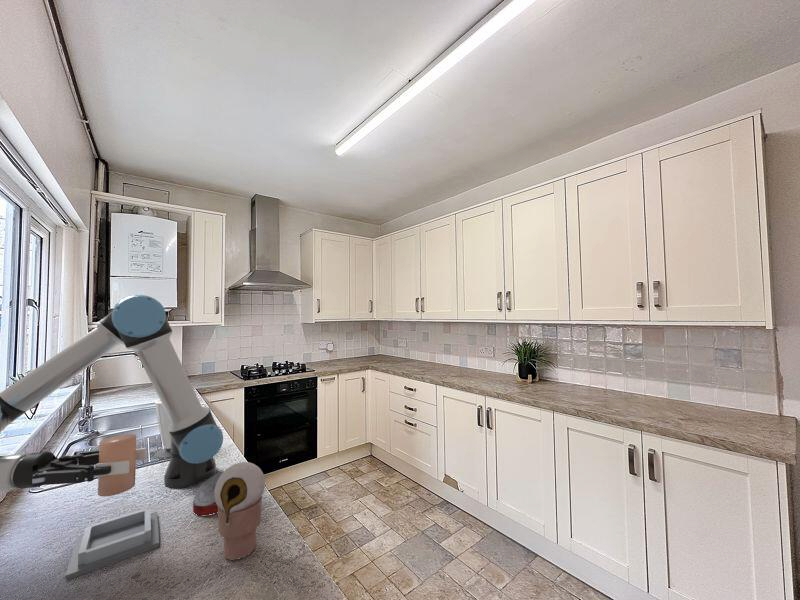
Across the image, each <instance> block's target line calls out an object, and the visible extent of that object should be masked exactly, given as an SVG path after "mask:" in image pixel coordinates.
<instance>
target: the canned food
mask: <svg viewBox="0 0 800 600" xmlns="http://www.w3.org/2000/svg"><path fill="white" fill-rule="evenodd" d="M223 472H224V471H221V472H218V473H215V474H214V475H213V476H212V477H211V478H209V479H207V480H205V481H204V482H203V483H202V484H201V485H200V486H199V488H198V489H197V490H196V491H195V493H194V496H193V500H192V508H193V509H192V510H193V511H192V513H193V512H194V513H195V514H197V515H209V514H213V513H217V512H218V506H217V504H216V502H215V498H214V490H215V486H216V483H217V481H218V479H219V477H220V476H221V474H222V473H223ZM194 513H193V514H194ZM195 514H194V515H195ZM217 514H218V513H217Z"/></svg>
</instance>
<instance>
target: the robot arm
mask: <svg viewBox="0 0 800 600" xmlns="http://www.w3.org/2000/svg"><path fill="white" fill-rule="evenodd" d="M172 335H173V330H172V327H171V325H170V323H169V321H168V319H167V314H166V309H165V307H164V306H163V305H162V303H161V302H159V301H158V300H157V299H155V298H153V297H152V296H149V295H144V294H143V295H142V294H135V295H134V294H133V295H130V296H127V297H125V298H122V299H120V300H119V301H118V302H116V304H114V307H113V309H112V310H111V311H110V312H109V313H108V314H106V316H104V317H103V318H102V319H100V320H99V321H97V324H96V327H95V328H94V329H92V330H89V332H87V333H86V334H84V335H83V336H82V337H80V338H78V339H77V340H75V341H74V342H73V343H71V344H70V345H68V346H67V347H66V348H64V349H63V350H61V351H59V352H58V353H56V354H55V355H54V356H52V357H51V358H49V359H48V360H46V361H44V362H43V363H42V364H41V365H38V367H35V369H33V370H32V371H30V372H29V373H27V374H26V375H24V376H23V377H22V378H20V379H19V380H17V381H15V382H14V383H12V384H11V385H10V386H8V387H7V388H5V389H4V390H2V391H1V392H0V433H2V432H3V430H4V429H6V427H8V426H9V425H10V424H11V423H13V422H14V421H16V420H17V419H18V418H20V417H21V416H23V415H24V414H25V413H26V412H28V411H29V410H31V409H32V408H33V407H35V406H36V405H37V404H39V403H40V402H42V401H43V400H45V399H46V398H47V397H48V396H50V395H51V394H53V393H54V392H55V391H57V390H58V389H60V388H61V387H62V386H64V385H65V384H66V383H68V382H69V381H70V380H72V379H74V377H76V376H77V375H79V374H80V373H82V372H83V371H84V370H86V369H87V368H89V367H90V366H91V365H93V364H95V362H96V361H98V360H99V359H100V358H101V359H102V357H103V356H105V355H106V354H108V353H109V352H110V351H112V350H114V349H115V348H116V347H117V346H118V345H119V346H120V345H124V346H125V348H126V349H128V350H131V351H134V352H135V353H136V355H137V357H138V358H139V361H140V363H141V364H142V366H143V367H142V368H143V369H144V371H145V372H146V375H147V376H148V379H149V380H150V382H151V385H152V386H153V389H154V390H155V391H154V392H155V393H156V394H157V396H158V399H160V401H161V403H162V405H163V407H164V409H165V410H166V412H167V414H168V416H169V418H170V420H171V424H170V426H169V428H168V431H169V432H170V434H171V457H170V460H169V463H168V466H167V467H166V470H165V473H164V477H163V478H164V479H163V483H164V485H165V487H168V488H173V489H174V488H175V489H177V488H180V489H181V488H186V487H190V486H195V485H197V484H200V482H201V483H204V482H206V481H207V480H208V479H209V478H210V477H211V476H212V477H213V476H214V475H215V474H216V473H215V472H217V464H216V461H215V458H214V457H215V456H216V455H217V454H218V453H219V451H220V450H221V448H222V446H223V442H224V434H223V430H222V429H221V428H220V427H219V426H218V424H217V423H216V420H215V419H214V416H213V414H212V410H211V408H210V407H207V406H202V404H201V402H200V400H199V398H198V396H197V394H196V391H195V390H194V387H193V385H192V384H191V380H190V379H189V378H188V377H189V376H188V374H187V373H186V370H185V369H184V366H183V365H182V362H181V360H180V358H179V356H178V354H177V352H176V350H175V347H174V345H173V343H172V342H171V336H172ZM146 459H147V447H141V448H136V461H142V460H146ZM129 462H130V460H127V461H117V462H107V463H99V449H94V450H93V449H92V450H79V451H77V450H76V451H75V452H73V455H63V456H59V457H57V456H56V455H55V454H54V453H53V452H50V451H41V452H31V453H29V452H28V453H27V452H26V453H18V454H15V453H14V454H7V455H0V492H1V491H5V492H7V493H8V492H12V491H13V490H18V489H20V490H21V489H22V490H23V489H32V488H38V487H42V486H47V485H48V486H49V485H50V486H51V485H65V484H80V483H84V482H85V481H87V483H90V482H93V481H94V479H95V478H94V477H98V476H105V475H115V474H124V473H128V472H129Z"/></svg>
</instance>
